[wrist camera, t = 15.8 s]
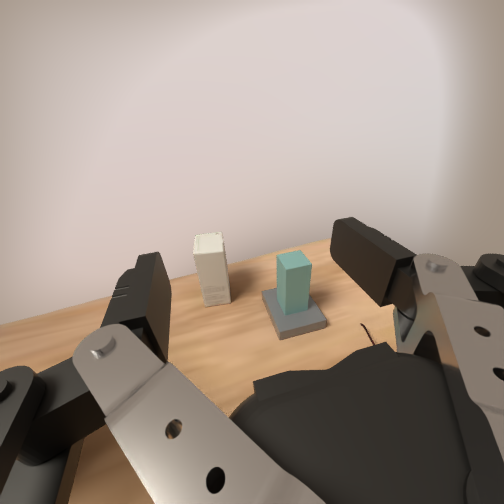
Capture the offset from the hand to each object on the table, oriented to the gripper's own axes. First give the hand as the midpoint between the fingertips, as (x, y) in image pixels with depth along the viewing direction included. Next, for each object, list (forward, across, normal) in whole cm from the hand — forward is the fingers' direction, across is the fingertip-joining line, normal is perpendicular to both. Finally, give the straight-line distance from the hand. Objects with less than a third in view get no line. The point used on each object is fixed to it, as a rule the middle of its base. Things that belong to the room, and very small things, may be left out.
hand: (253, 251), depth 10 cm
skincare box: (+35, +2, +34) cm, 49 cm away
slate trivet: (+24, -13, +34) cm, 44 cm away
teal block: (+24, -13, +32) cm, 42 cm away
